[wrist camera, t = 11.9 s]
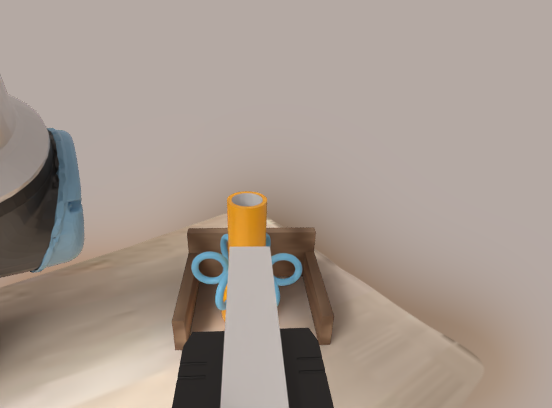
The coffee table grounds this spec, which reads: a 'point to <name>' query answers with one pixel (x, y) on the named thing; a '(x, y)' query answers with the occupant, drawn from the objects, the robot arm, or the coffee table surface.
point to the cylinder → (243, 243)
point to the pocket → (282, 241)
